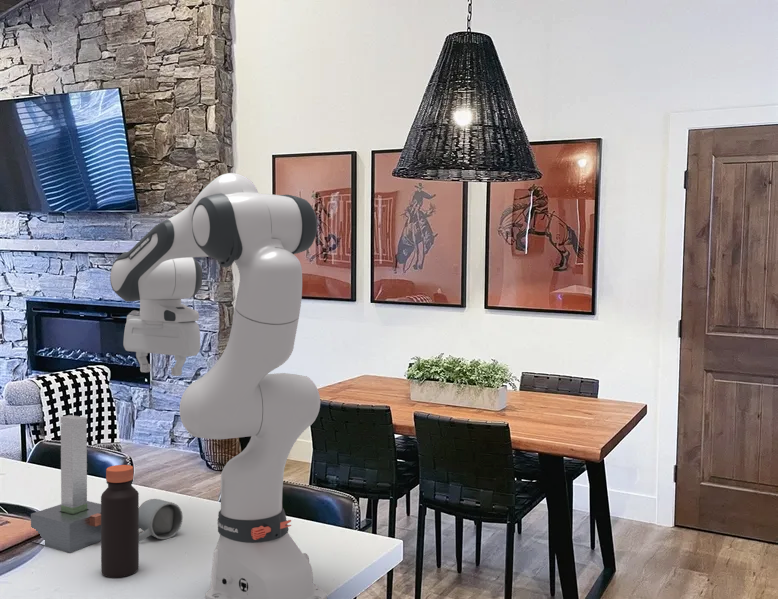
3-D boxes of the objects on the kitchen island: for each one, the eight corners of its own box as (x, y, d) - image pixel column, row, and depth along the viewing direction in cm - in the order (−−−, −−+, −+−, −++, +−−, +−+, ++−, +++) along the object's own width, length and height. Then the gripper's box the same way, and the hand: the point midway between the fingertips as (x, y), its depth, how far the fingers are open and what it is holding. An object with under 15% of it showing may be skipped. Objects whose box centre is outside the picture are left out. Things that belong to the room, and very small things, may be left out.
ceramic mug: (163, 525, 174) (163, 491, 173) (183, 534, 168) (183, 499, 168) (119, 538, 166) (118, 503, 166) (138, 548, 161) (138, 511, 160)
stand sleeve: (121, 536, 167) (121, 508, 166) (75, 554, 156) (74, 524, 156) (78, 525, 173) (78, 497, 173) (31, 541, 163) (30, 512, 162)
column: (89, 516, 165) (89, 417, 164) (75, 521, 162) (74, 420, 161) (73, 512, 168) (72, 414, 167) (58, 517, 164) (57, 417, 163)
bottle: (122, 561, 153) (122, 461, 152) (146, 569, 149) (146, 466, 148) (93, 573, 147) (92, 469, 146) (117, 581, 143) (117, 474, 142)
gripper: (116, 310, 175) (116, 371, 175) (184, 314, 165) (184, 379, 166) (137, 309, 180) (138, 368, 181) (204, 313, 170) (204, 375, 171)
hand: (160, 373), depth 173 cm, fingers open, 8 cm apart
